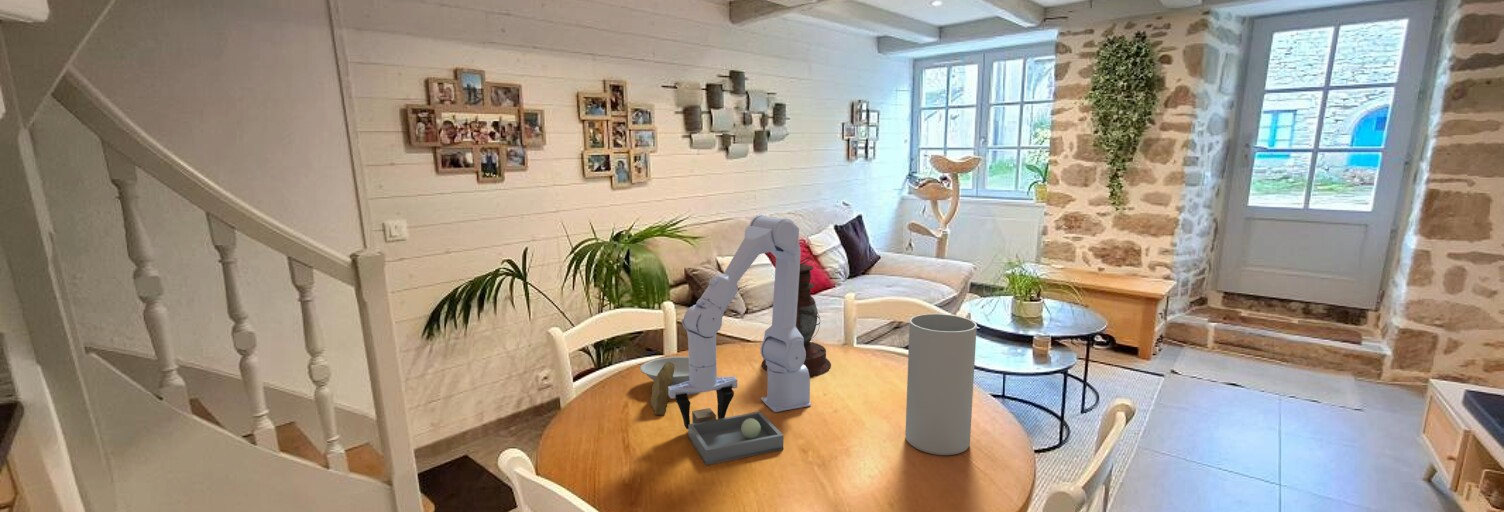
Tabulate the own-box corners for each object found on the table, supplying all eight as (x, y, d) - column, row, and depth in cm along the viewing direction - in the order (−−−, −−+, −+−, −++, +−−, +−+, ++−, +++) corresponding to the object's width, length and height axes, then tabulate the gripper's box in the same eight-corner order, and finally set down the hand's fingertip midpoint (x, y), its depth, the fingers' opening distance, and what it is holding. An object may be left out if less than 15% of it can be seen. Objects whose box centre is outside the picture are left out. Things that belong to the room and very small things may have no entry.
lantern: (764, 352, 179) (763, 250, 174) (830, 354, 177) (831, 251, 172) (758, 376, 161) (757, 263, 155) (832, 378, 159) (833, 264, 153)
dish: (711, 373, 163) (710, 355, 162) (711, 394, 149) (711, 375, 148) (644, 375, 162) (643, 357, 161) (637, 397, 148) (636, 377, 147)
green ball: (752, 431, 129) (752, 413, 128) (764, 438, 126) (764, 420, 125) (737, 436, 126) (737, 418, 125) (749, 444, 123) (749, 425, 122)
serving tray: (760, 424, 133) (760, 411, 133) (783, 449, 122) (783, 435, 122) (688, 437, 127) (688, 424, 127) (706, 465, 116) (705, 450, 116)
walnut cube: (710, 425, 133) (710, 407, 132) (716, 433, 129) (715, 415, 129) (692, 428, 132) (692, 411, 131) (698, 436, 128) (697, 418, 127)
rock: (673, 409, 136) (693, 387, 144) (649, 379, 135) (671, 358, 144) (642, 429, 141) (663, 406, 149) (619, 399, 140) (642, 378, 149)
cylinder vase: (936, 463, 116) (942, 335, 112) (892, 435, 127) (896, 319, 123) (983, 447, 122) (991, 326, 118) (937, 423, 133) (943, 310, 129)
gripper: (729, 352, 134) (730, 411, 137) (663, 361, 129) (666, 422, 131) (740, 362, 128) (741, 424, 130) (672, 372, 122) (674, 436, 125)
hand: (704, 424), depth 130 cm, fingers open, 7 cm apart
